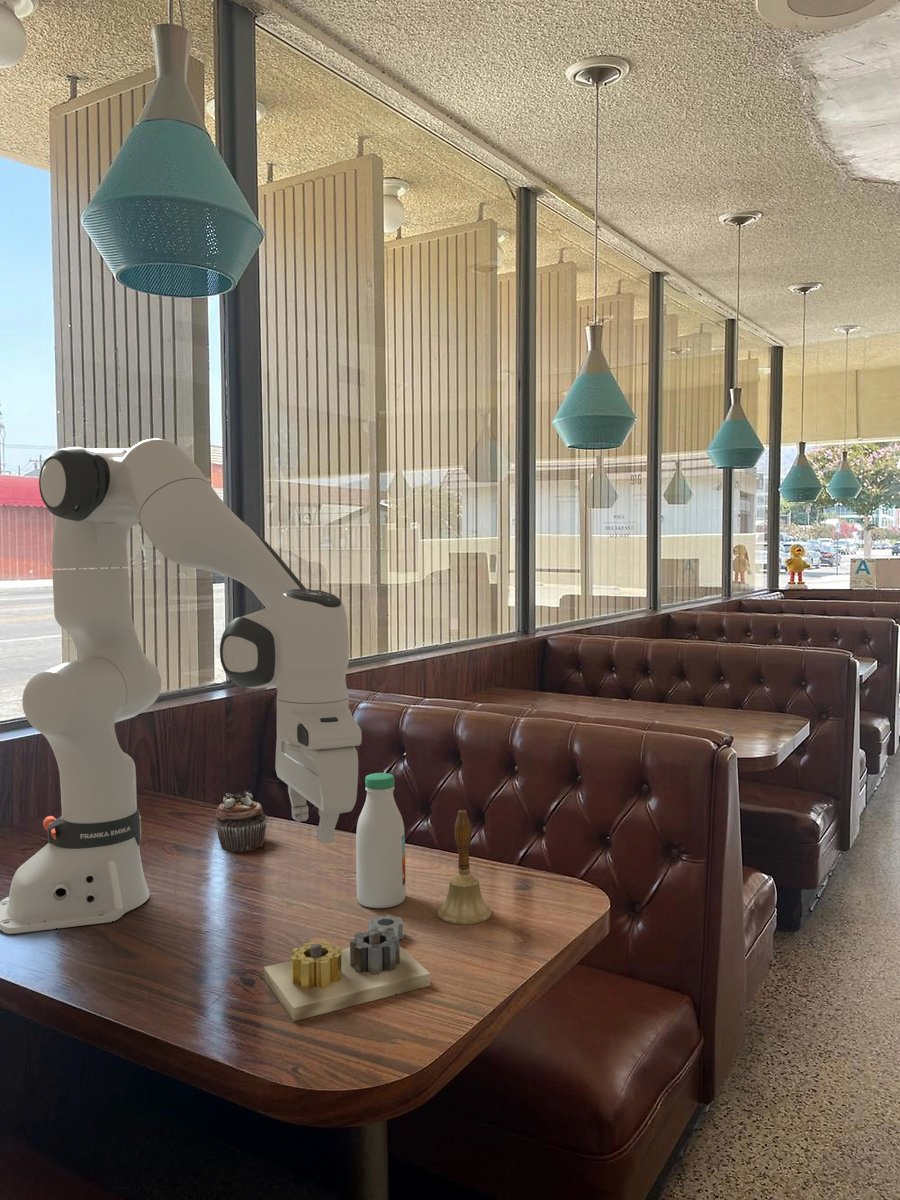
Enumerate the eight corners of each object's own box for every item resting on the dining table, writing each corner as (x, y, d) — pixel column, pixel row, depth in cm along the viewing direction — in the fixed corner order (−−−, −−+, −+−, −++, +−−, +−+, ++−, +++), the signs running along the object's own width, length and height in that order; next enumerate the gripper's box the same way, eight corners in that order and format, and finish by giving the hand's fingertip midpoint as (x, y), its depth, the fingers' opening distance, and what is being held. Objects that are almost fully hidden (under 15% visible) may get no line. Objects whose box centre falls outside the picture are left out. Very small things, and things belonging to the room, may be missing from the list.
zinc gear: (381, 947, 126) (380, 932, 125) (361, 936, 130) (361, 921, 129) (410, 938, 129) (410, 923, 129) (390, 926, 133) (390, 912, 132)
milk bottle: (398, 911, 138) (397, 782, 137) (350, 907, 140) (348, 780, 139) (410, 892, 146) (409, 770, 145) (365, 889, 147) (363, 768, 146)
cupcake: (224, 856, 164) (223, 802, 164) (210, 842, 173) (208, 790, 172) (274, 847, 169) (274, 794, 168) (258, 833, 177) (257, 783, 177)
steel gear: (375, 979, 113) (375, 954, 113) (340, 965, 117) (339, 941, 117) (409, 961, 118) (409, 937, 118) (374, 948, 122) (374, 925, 122)
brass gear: (300, 994, 109) (299, 968, 109) (284, 972, 115) (283, 948, 115) (349, 981, 112) (349, 956, 112) (331, 961, 118) (331, 937, 118)
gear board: (293, 1021, 106) (292, 974, 106) (264, 979, 117) (263, 936, 116) (430, 985, 115) (429, 942, 114) (391, 949, 125) (390, 909, 125)
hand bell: (474, 929, 132) (473, 821, 131) (426, 917, 136) (426, 813, 135) (501, 909, 139) (501, 807, 138) (455, 899, 143) (455, 800, 142)
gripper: (263, 708, 120) (263, 811, 120) (315, 738, 102) (315, 859, 102) (309, 705, 123) (308, 805, 123) (367, 733, 104) (366, 851, 105)
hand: (312, 830), depth 113 cm, fingers open, 8 cm apart
